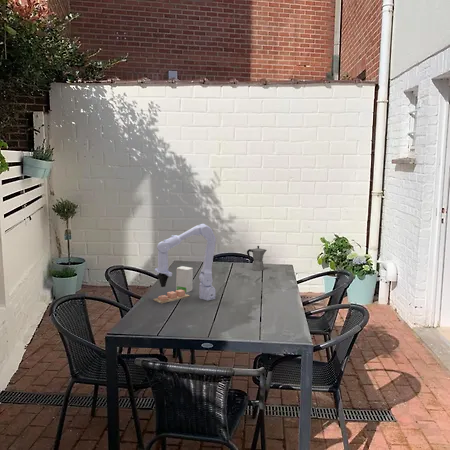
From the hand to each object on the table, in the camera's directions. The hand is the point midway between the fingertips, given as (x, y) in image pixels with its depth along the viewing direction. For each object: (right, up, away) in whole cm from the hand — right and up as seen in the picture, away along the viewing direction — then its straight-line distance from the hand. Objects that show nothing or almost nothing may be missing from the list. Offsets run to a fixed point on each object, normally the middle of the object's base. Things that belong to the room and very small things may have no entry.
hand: (163, 286), depth 270 cm
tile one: (+9, -7, +9) cm, 14 cm away
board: (+4, -9, +5) cm, 11 cm away
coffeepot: (+58, +1, +86) cm, 104 cm away
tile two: (+4, -8, +5) cm, 10 cm away
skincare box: (+10, -7, +23) cm, 26 cm away
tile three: (0, -9, +1) cm, 9 cm away
